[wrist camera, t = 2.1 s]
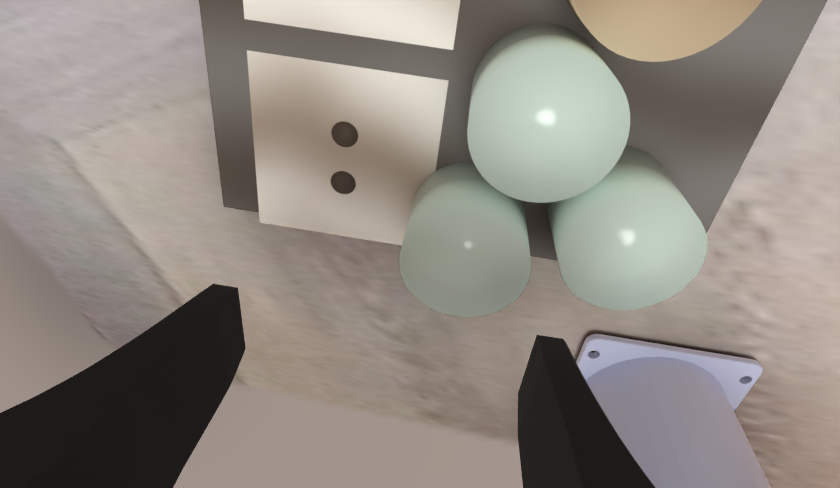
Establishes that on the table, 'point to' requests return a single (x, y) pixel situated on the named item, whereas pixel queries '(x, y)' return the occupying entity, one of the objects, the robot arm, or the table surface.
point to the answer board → (450, 103)
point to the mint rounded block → (465, 244)
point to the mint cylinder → (545, 115)
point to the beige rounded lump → (661, 25)
